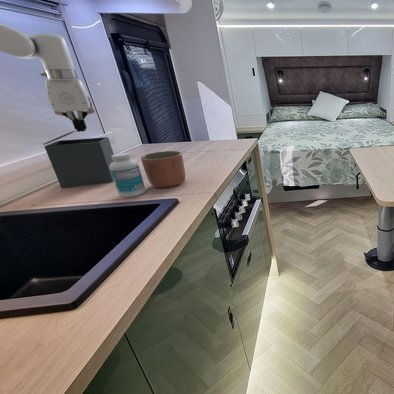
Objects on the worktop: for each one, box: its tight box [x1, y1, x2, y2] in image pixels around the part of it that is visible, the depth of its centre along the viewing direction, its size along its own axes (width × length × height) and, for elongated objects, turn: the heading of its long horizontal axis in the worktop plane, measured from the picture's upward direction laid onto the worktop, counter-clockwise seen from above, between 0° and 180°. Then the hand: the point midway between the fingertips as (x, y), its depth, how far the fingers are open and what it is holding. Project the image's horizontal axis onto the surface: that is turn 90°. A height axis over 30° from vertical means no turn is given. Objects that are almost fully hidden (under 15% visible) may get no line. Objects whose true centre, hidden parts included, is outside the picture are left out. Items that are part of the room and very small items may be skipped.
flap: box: [43, 129, 77, 146], centre depth 102 cm, size 7×11×1 cm
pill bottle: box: [109, 152, 147, 198], centre depth 94 cm, size 8×7×14 cm
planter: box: [140, 150, 186, 189], centre depth 104 cm, size 12×12×11 cm
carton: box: [44, 136, 114, 189], centre depth 107 cm, size 15×11×15 cm
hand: (81, 131), depth 104 cm, fingers closed
